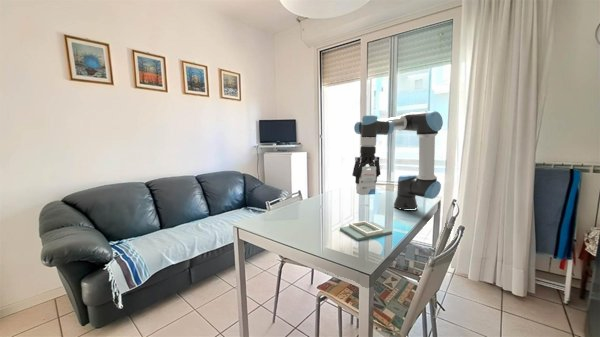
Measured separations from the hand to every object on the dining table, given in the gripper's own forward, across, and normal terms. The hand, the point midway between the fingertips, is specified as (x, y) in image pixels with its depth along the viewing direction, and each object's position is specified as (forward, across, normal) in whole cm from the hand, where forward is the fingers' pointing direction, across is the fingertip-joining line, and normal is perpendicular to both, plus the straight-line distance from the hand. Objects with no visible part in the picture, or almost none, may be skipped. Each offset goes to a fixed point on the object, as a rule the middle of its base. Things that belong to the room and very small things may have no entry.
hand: (365, 189), depth 129 cm
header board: (+22, +1, +2) cm, 22 cm away
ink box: (+3, 0, 0) cm, 3 cm away
